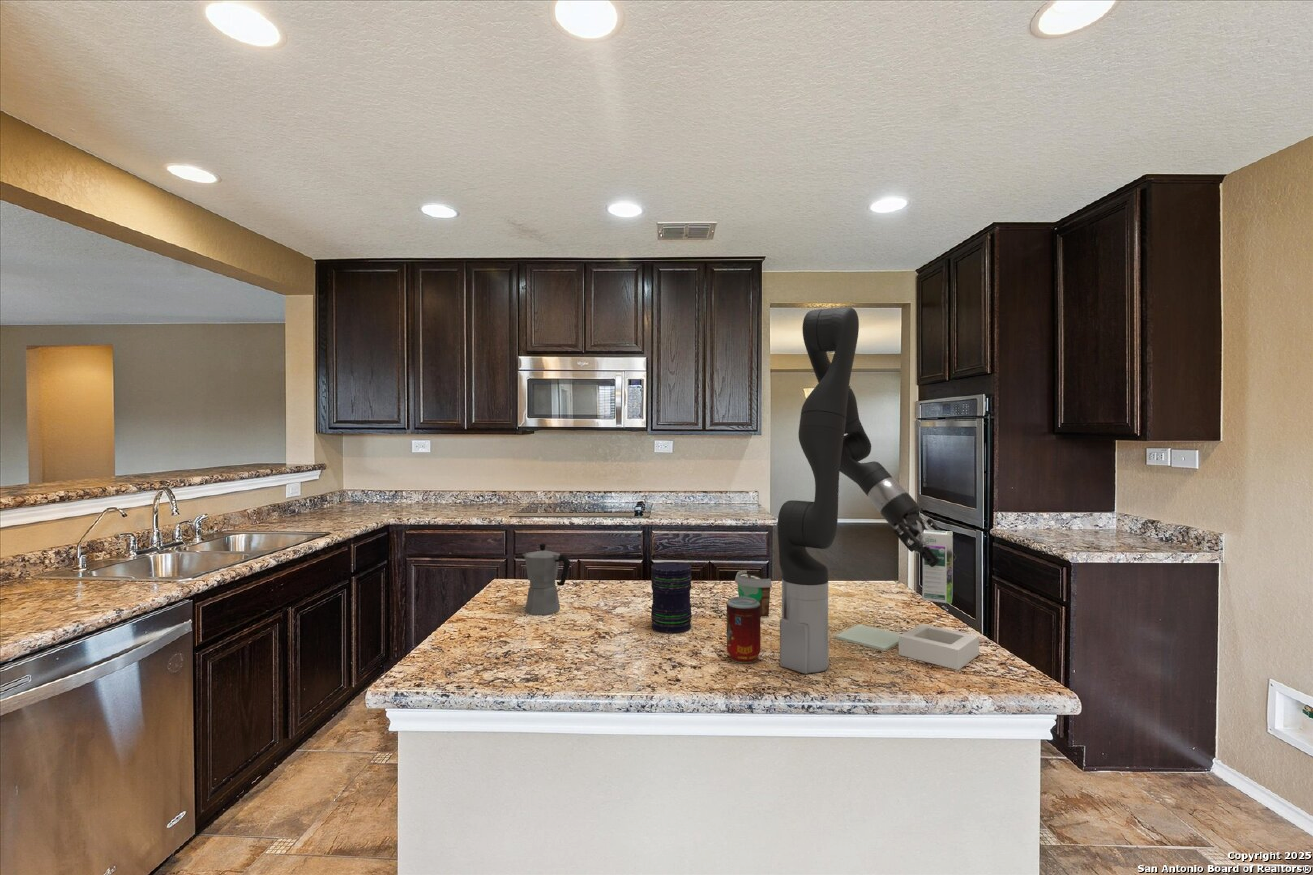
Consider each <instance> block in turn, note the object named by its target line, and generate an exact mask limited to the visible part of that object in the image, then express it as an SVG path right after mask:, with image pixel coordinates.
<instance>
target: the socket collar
mask: <svg viewBox="0 0 1313 875" xmlns="http://www.w3.org/2000/svg"><path fill="white" fill-rule="evenodd" d="M900 634H901V635H900V636H899V644H898V656H903V657H906V658H909V659H913V660H914V659H915V660H918V661H921V662H926V663H929V664H933V665H937V666H940V667H943V668H949V669H953V670H956V671H959V670H961V669H962V668H963V667H965V666H966V665H967V664H969V663H970V662H971V661H972V660H974V659H976V657H978V656H979V655H980V637H979V635H975V634H971V633H968V632H967V633H966V632H963V631H958V630H954V629H953V630H952V629H950V628H949V629H948V628H943V627H939V626H935V625H929V624H924V623H920V624H918V625H916V626H915V627H913V628H911V629H909V630H906V631H905V632H903V633H900Z"/></svg>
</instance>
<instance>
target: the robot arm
mask: <svg viewBox="0 0 1313 875" xmlns="http://www.w3.org/2000/svg"><path fill="white" fill-rule="evenodd" d="M859 321H860V320H859V316H858V313H857V310H856V309H855V308H853V307H850V306H849V307H847V306H845V307H844V306H843V307H842V306H841V307H830V308H819V309H813V310H810V311H808V312H807V313H806V314H805V315H804V318H803V320H802V328H801V330H802V331H801V332H802V338H803V343H804V346H805V349H806V352H807V355H808V359H809V362H810V363H811V368H812V369H813V372H814V375H815V377H816V381H817V384H816V385H815V386H814V388H813V390H812V391H810V393H809V394H808V396H807V397H806V399H805V401H804V402H803V404H802V407H801V410H800V417H799V418H800V419H799V426H798V441H799V445H800V447H801V450H802V452H803V453H804V456H805V458H806V460H807V462H808V464H809V466H810V468H811V471H812V474H813V477H814V478H813V479H814V486H815V487H814V488H815V489H814V491H815V492H814V501H809V500H798V499H797V500H795V499H794V500H793V499H791V500H790V499H789V500H787V501H785V502H784V503H783V504H782V505H781V507H780V509H779V511H778V516H777V527H776V528H777V541H778V542H777V543H778V544H777V545H778V563H779V567H780V570H781V618H780V620H779V666H780V667H783V668H786V669H790V670H792V671H794V672H799V673H801V674H805V675H807V674H810V673H811V674H812V673H819V672H823V671H826V670H827V669H828V668H829V666H830V664H829V663H830V662H829V659H830V658H829V657H830V656H829V650H830V648H829V569H828V566H826V565H825V564H823V562H820V561H818V560H816V559H815V558H814V557H813V556H811V554H810V553H809V552H808V550H807V549H806V548H809V549H810V548H811V549H818V550H819V549H820V550H826V549H828V548H830V547H831V546H832V544H833V543H834V541H835V538H836V535H837V529H838V523H839V521H838V520H839V519H838V518H839V494H840V493H839V487H840V486H839V485H840V484H839V482H840V473H842V474H843V475H845V477H847V478H848V479H850V480H852V482H855V484H856V485H858V486H859V488H860V489H861V490H862V491H863V492H864V493H865V495H866V496H867V498H868V499H869V500H870V502H871V503H872V505H873V506H874V508H875V509H876V510H877V511H878V512H879V514H880V515H881V517H882V518H883V519H884V520H886V522H887V523H888V525H889V526H891V528H892V532H893V533H894V534H895V535H896V536H897V538H898V539H899V540H900V541H901V542H902V544H904V546H905V547H906V548H907V549H908V550H909V552H912V553H913V552H914V551H915V553H916V554H919V555H920V557H922V559H923V558H924V559H925V561H926V562H927V563H928V564H929V565H930V566H931V567H934V566H936V565H937V564H938V563H939V562H940V560H939V559H938V557H937V556H936V555H935V554H934V553H933V552H932V550H931V549H930V548H929V547H927V544H926V542H925V541H924V540H923V532H924V530H937V531H942V530H941V528H939V526H938V525H937V524H936V523H935V522H934V520H933V519H931V518H928V519H926V520H924V519H923V518H922V517H921V516H920V515H919V514H920V512H921V510H922V509H921V506H920V505H919V503H917V502H916V500H915V499H914V498H913V497H912V496H911V495H910V494H909V492H908V491H907V490H906V489H905V488H904V487H903V486H902V485H901V484H900V482H898V481H897V480H896V479H895V478H894V477H893V476H892V475H891V474H890V473H889V472H888V471H887V470H886V468H885V467H884V466H883V465H882V463H880V462H879V461H869V462H860V461H862V460H864V459H866V458H867V457H869V455H870V454H871V452H872V444H871V440H870V438H869V437H868V434H867V432H866V431H865V429H864V427H863V424H862V423H861V420H860V416H859V410H858V403H857V398H856V395H855V393H854V391H853V389H852V387H851V386H850V382H851V381H850V380H851V375H852V369H853V365H854V361H855V356H856V350H857V344H858V338H859V330H860V328H859V327H860V323H859ZM828 352H834V353H833V356H832V360H831V361H830V358H829V356H828ZM957 557H958V556H957V555H956V554H955V552H954V551H953V562H954V561H955V560H957Z"/></svg>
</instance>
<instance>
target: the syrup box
mask: <svg viewBox="0 0 1313 875" xmlns="http://www.w3.org/2000/svg"><path fill="white" fill-rule="evenodd" d="M953 536H954V534H953V531H948V530H947V531H946V530H941V531H937V530H924V532H923V540H924V541H925V542H926V544H927V547H929V548H930V549H931V550H932V552H933V553H934V554H935V555H936V556H937V557H938V559H939V560H940V562H939V563H938V564H937V565H936V566H934V567H931V566H930V565H929V564H928V563H927V562H926V561H925V559H924V558H923V557H922V592H921V595H922V596H921V600H922V601H923V602H926V601H927V602H928V601H929V602H934V603H935V602H936V603H944V604H951V605H952V603H953V592H954V591H953V589H954V588H953V585H954V584H953V577H954V576H953V573H954V572H953V568H954V567H953V566H954V564H953V562H954V561H953V552H954V551H953V548H954V544H953V543H954V537H953Z"/></svg>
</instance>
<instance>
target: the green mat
mask: <svg viewBox="0 0 1313 875" xmlns="http://www.w3.org/2000/svg"><path fill="white" fill-rule="evenodd" d="M901 634H902V633H899V632H895V631H891V630H887V629H886V630H885V629H881V628H877V627H873V626H870V625H865V624H861V623H858V624H857V625H855V626H852V627H850V628H848V629H845V630H844V631H843V630H842V632H838V633H836V634H834V638H833V639H836V640H840V641H844V642H848V643H852V644H855V645H860V646H864V647H867V648H872V649H875V650H878V651H883V652H886V651H888V650H890V649H892V648H893V647H895V646H897V645H899V636H900V635H901Z"/></svg>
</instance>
